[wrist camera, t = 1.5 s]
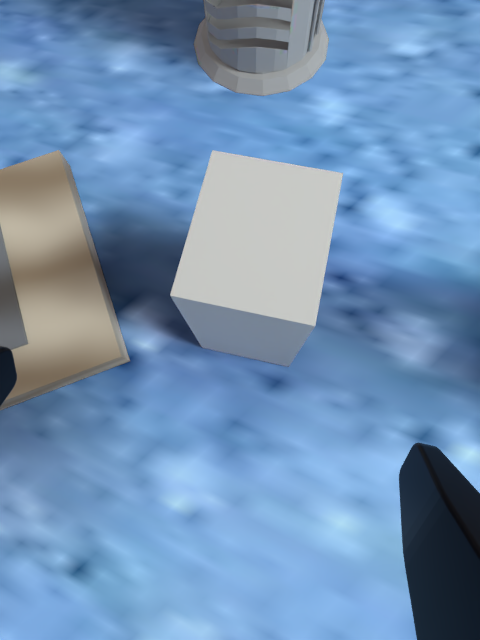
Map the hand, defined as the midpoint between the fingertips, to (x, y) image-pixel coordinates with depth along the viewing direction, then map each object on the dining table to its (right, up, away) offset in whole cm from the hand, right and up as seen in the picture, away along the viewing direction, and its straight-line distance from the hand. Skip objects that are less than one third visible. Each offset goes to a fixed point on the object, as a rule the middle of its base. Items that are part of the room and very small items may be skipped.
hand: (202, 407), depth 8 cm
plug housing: (+2, +3, +14) cm, 14 cm away
